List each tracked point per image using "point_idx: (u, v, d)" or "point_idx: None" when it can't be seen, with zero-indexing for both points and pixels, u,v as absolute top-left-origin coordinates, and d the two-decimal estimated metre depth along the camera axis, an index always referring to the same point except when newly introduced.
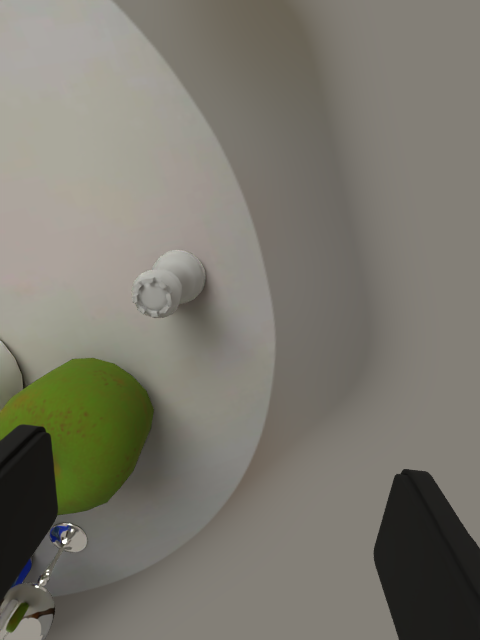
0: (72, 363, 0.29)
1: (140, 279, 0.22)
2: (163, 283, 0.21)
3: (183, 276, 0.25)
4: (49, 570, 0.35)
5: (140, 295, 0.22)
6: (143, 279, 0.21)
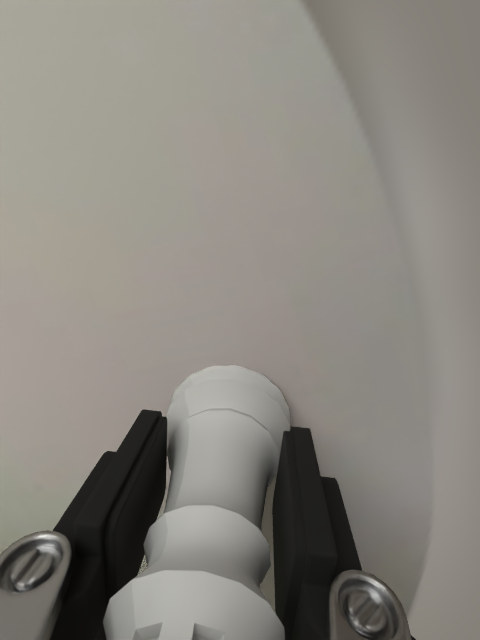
0: None
1: (135, 620, 0.05)
2: None
3: (259, 473, 0.09)
4: None
5: None
6: (146, 623, 0.05)
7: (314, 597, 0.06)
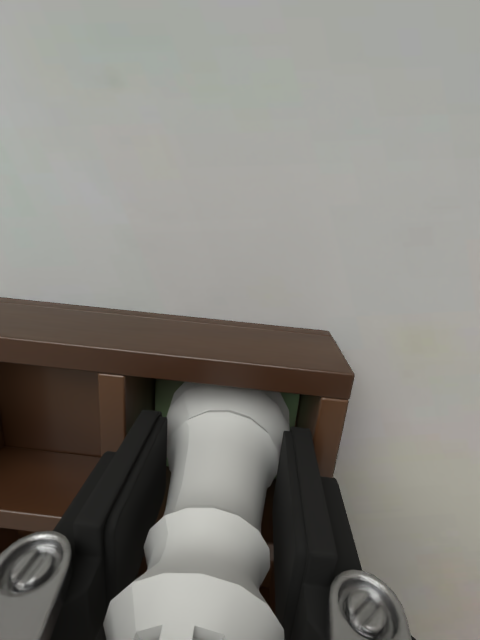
0: None
1: (135, 623, 0.05)
2: None
3: (259, 475, 0.09)
4: None
5: None
6: (147, 626, 0.05)
7: (314, 597, 0.06)
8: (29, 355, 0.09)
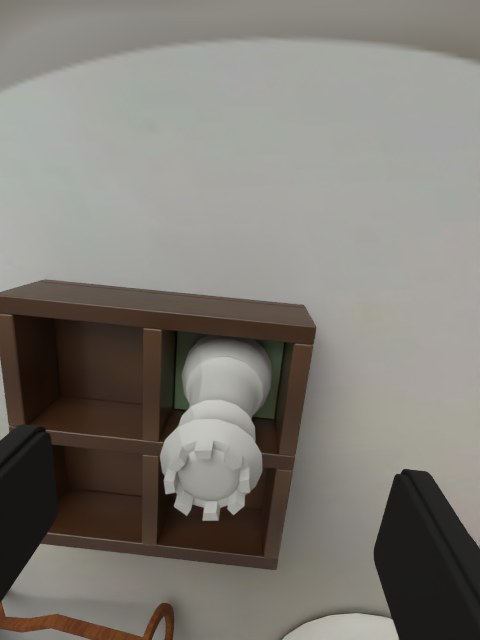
0: None
1: (181, 442, 0.10)
2: (235, 458, 0.10)
3: (249, 394, 0.14)
4: None
5: (180, 474, 0.10)
6: (188, 443, 0.10)
7: None
8: (96, 315, 0.14)
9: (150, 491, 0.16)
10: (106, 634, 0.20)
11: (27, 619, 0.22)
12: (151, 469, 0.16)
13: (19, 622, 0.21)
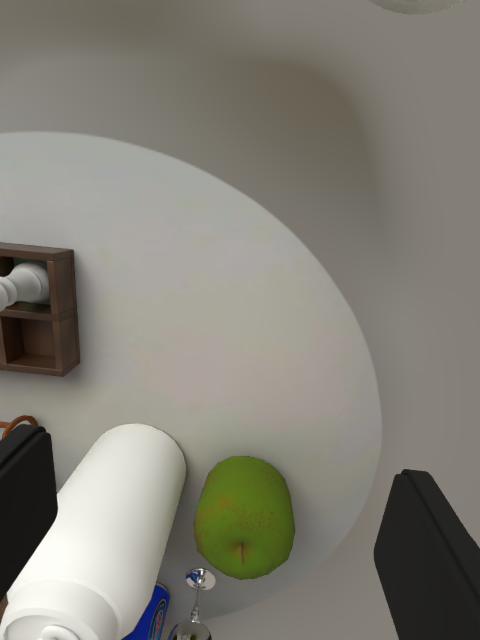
0: (236, 462, 0.40)
1: None
2: None
3: (25, 281, 0.33)
4: (197, 607, 0.46)
5: None
6: None
7: None
8: None
9: None
10: None
11: None
12: None
13: None
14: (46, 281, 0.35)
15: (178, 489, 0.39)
